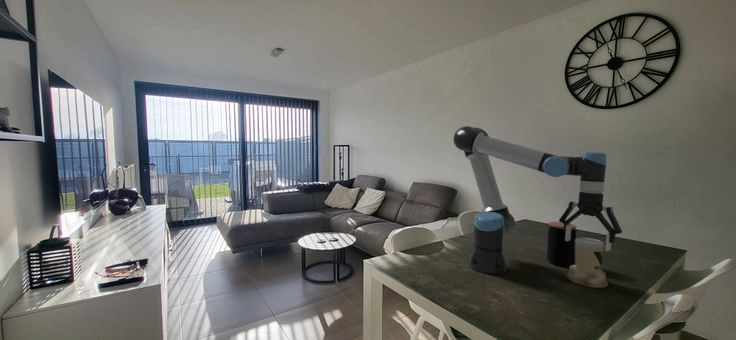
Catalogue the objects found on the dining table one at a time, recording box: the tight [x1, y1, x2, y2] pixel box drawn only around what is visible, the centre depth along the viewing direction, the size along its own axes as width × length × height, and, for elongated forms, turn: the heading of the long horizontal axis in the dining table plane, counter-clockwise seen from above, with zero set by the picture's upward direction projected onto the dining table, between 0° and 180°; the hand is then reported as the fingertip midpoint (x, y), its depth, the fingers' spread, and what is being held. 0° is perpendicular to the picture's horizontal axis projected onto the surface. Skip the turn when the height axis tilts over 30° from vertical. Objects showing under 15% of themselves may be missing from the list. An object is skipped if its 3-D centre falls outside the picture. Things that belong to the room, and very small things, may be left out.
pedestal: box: [566, 264, 609, 289], centre depth 115 cm, size 13×13×4 cm
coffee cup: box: [575, 237, 606, 275], centre depth 114 cm, size 9×9×12 cm
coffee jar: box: [546, 221, 577, 268], centre depth 133 cm, size 11×11×18 cm
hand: (586, 245), depth 115 cm, fingers open, 13 cm apart
